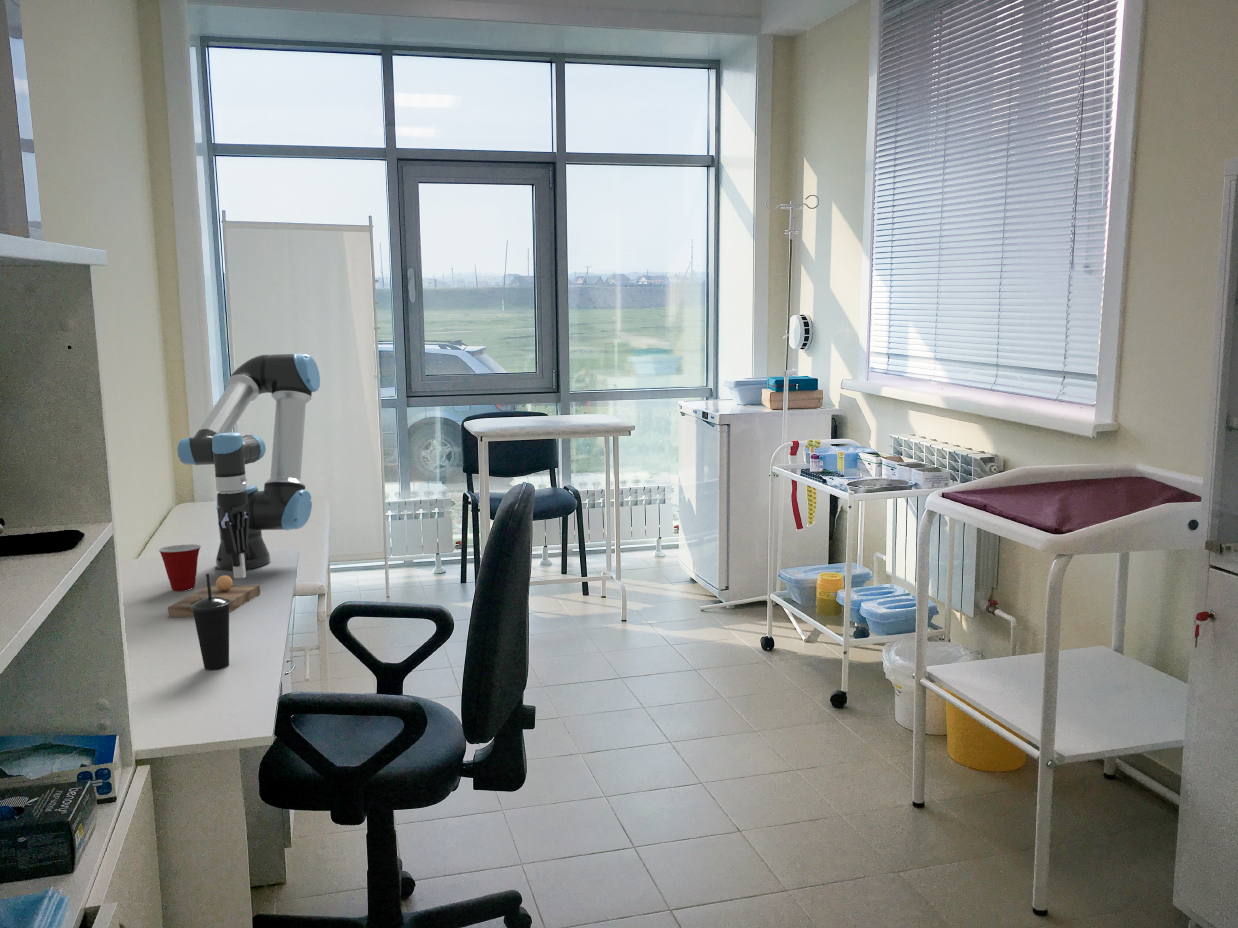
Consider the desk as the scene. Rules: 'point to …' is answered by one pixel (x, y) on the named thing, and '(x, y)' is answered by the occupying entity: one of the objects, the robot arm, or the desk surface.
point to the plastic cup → (181, 565)
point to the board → (234, 594)
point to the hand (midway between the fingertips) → (240, 577)
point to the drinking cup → (212, 629)
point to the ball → (224, 583)
